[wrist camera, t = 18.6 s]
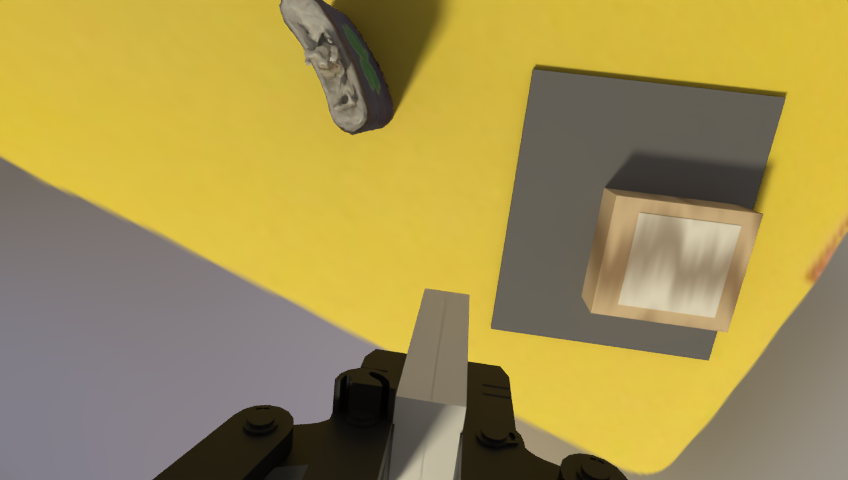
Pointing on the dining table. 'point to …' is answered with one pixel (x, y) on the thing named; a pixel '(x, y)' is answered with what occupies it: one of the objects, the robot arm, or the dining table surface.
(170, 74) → the dining table surface
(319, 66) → the flask
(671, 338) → the mat
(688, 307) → the oak tile
